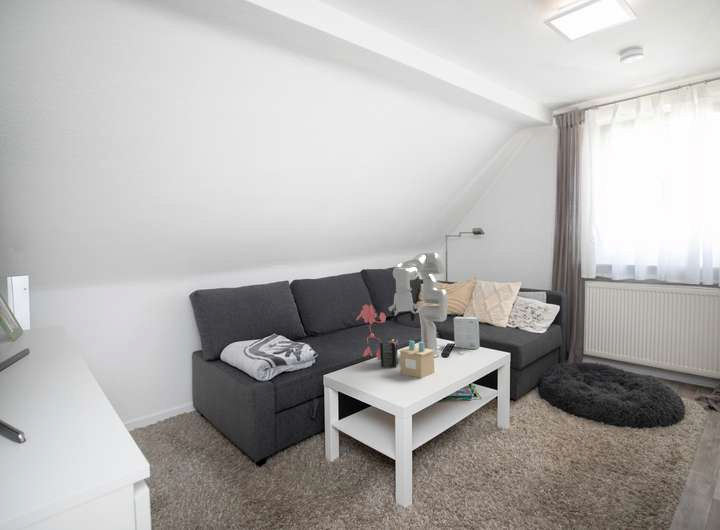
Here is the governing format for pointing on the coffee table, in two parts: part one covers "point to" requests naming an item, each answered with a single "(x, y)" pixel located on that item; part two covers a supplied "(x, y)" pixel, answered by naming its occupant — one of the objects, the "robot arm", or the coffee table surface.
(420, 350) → the flap
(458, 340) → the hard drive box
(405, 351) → the carton
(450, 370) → the coffee table surface
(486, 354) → the coffee table surface
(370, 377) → the coffee table surface
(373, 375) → the coffee table surface
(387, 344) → the tampon box
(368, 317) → the figurine
